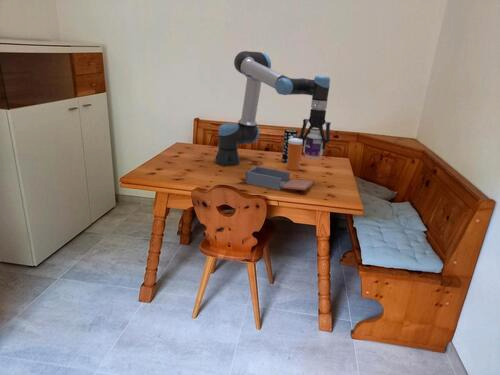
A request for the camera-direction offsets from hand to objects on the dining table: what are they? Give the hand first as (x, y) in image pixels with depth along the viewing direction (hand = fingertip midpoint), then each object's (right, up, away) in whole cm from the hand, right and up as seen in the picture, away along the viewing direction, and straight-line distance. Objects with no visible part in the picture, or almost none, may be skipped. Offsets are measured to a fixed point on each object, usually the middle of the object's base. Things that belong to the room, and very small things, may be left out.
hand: (312, 153), depth 179 cm
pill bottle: (0, -2, +1) cm, 2 cm away
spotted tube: (-8, -1, +44) cm, 45 cm away
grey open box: (-23, -15, +1) cm, 28 cm away
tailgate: (-14, -15, -4) cm, 21 cm away
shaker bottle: (-6, -6, +30) cm, 31 cm away
